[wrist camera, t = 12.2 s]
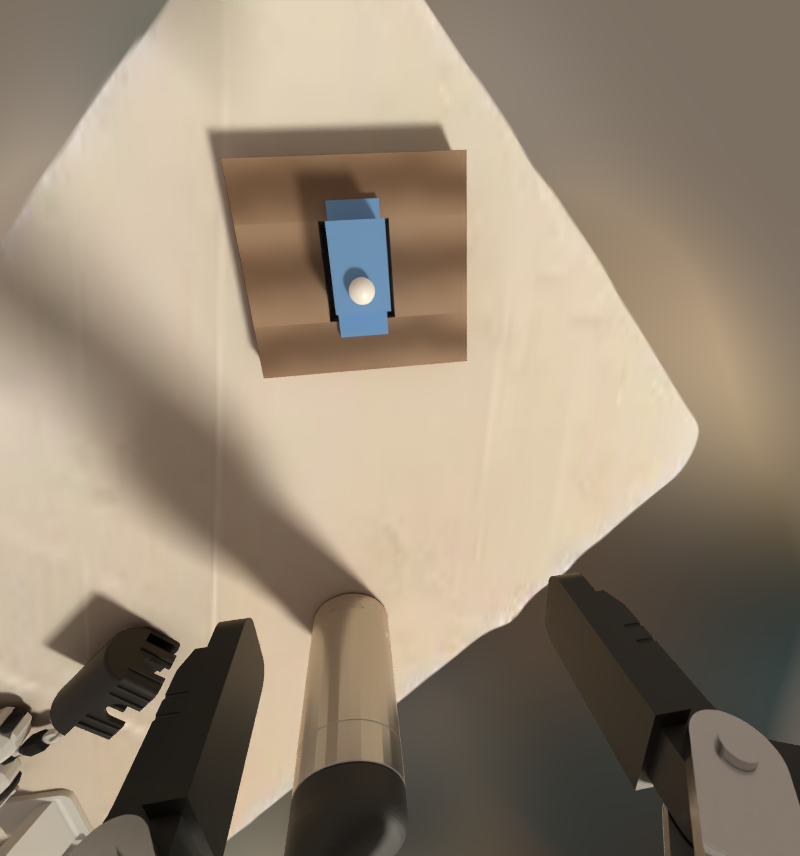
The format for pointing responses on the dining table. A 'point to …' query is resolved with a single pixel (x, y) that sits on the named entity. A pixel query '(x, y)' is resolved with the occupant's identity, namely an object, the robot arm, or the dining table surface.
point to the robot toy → (3, 738)
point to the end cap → (114, 682)
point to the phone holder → (43, 824)
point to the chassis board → (305, 263)
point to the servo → (358, 266)
